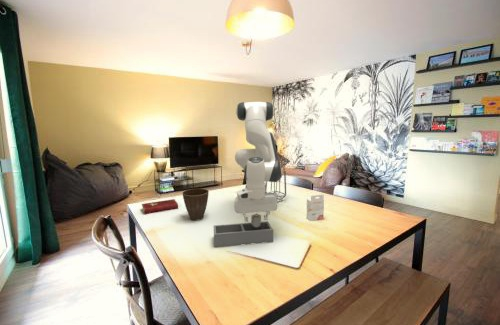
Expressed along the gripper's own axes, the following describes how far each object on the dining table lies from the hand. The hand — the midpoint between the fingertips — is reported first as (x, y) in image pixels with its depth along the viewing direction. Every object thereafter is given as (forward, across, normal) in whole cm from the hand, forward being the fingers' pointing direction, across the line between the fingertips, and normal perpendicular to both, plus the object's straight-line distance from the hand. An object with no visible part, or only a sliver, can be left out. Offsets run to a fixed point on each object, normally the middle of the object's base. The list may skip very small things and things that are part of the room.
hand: (256, 220), depth 111 cm
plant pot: (+9, +30, -32) cm, 44 cm away
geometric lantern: (+10, -26, -57) cm, 63 cm away
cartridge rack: (+9, +6, 0) cm, 11 cm away
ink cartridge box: (+10, -38, -18) cm, 43 cm away
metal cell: (+8, 0, 0) cm, 8 cm away
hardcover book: (+10, +54, -53) cm, 76 cm away
